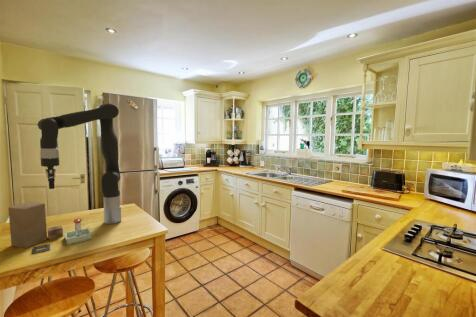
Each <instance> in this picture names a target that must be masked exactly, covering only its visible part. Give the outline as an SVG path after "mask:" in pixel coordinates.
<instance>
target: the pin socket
mask: <svg viewBox="0 0 476 317" xmlns="http://www.w3.org/2000/svg"><path fill="white" fill-rule="evenodd" d="M47 251H48V252H49V251H51V243H46V244H42V245H37V246H33V249H32V254H33V255H34V254H38V253H39V254H40V253H44V252H47Z"/></svg>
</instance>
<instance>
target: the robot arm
mask: <svg viewBox="0 0 476 317" xmlns="http://www.w3.org/2000/svg"><path fill="white" fill-rule="evenodd" d="M119 113H120V111H119V106H117V105H116V104H114V103H110V102H109V103H102V104H100V105H99V107H97V108H94V109H89V110H80V111H75V112H70V113H65V114H62V115H58V116H57V115H56V116H51V117H46V118H42V119H40V120H38V121H37V128H38V129H39V130H40V131H41V137H40V139H39V146H40V151H39V153H40V154H39V156H40V158H39V159H40V166H41V167H44V168H45V167H46V168H47V169H45V173H46V179H47V181H48V189H50V190H53V189H55V181H56V179H55V178H56V172H57V171H56V168H54V167H58V166H60V152H59V144H58V143H59V142H58V137H59V129H60V130H61V129H66V128H72V127H76V126H80V125H82V124H87V123H90V122H94V121H98V120H99V125H100V146H101V152H102V156H103V159H104V161H105V162H104V163H105V172H104V174H103V175H102V177H101V182H100V183H101V192H102V196H103V198H102V199H103V221H104V222H103V223H104V224H106V225H114V224H117V223H120V222H122V206H121V192H120V190H119V182H120V180H121V172H120V166H119V141H118V136H117V134H116V132H115V129H114V121H113V120H114V119H115V118H117V117H118V116H119Z"/></svg>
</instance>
